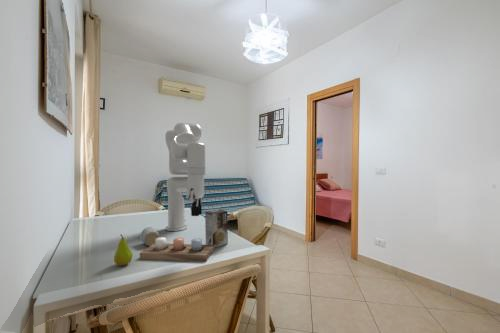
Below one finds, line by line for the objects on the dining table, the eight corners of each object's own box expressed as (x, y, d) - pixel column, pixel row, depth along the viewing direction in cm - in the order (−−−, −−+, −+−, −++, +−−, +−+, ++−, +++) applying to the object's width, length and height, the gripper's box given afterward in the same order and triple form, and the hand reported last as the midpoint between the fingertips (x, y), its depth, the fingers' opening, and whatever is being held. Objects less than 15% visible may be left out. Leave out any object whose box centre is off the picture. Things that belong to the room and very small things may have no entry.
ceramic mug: (144, 248, 106) (144, 231, 106) (139, 243, 112) (140, 228, 112) (167, 243, 113) (167, 228, 113) (161, 239, 119) (162, 225, 119)
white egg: (158, 246, 101) (158, 237, 101) (168, 246, 101) (168, 237, 101) (153, 249, 97) (153, 240, 97) (163, 250, 97) (163, 240, 97)
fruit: (136, 262, 90) (136, 231, 90) (124, 269, 84) (124, 236, 84) (122, 260, 92) (122, 230, 92) (109, 267, 86) (109, 235, 86)
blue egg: (193, 247, 100) (193, 238, 100) (203, 247, 99) (203, 238, 99) (189, 250, 95) (189, 241, 95) (200, 251, 95) (200, 241, 95)
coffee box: (220, 240, 116) (220, 209, 116) (228, 243, 111) (228, 210, 112) (204, 245, 110) (204, 211, 110) (212, 248, 105) (212, 213, 105)
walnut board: (155, 248, 106) (155, 243, 106) (214, 250, 102) (214, 244, 102) (139, 258, 94) (139, 252, 94) (206, 261, 91) (206, 255, 91)
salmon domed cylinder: (176, 246, 100) (175, 237, 101) (185, 247, 100) (185, 237, 100) (171, 250, 96) (171, 240, 96) (181, 250, 96) (181, 241, 96)
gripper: (194, 171, 106) (194, 211, 106) (180, 172, 90) (180, 219, 90) (210, 171, 105) (210, 211, 105) (198, 172, 89) (198, 219, 89)
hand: (196, 214), depth 97 cm, fingers open, 2 cm apart
